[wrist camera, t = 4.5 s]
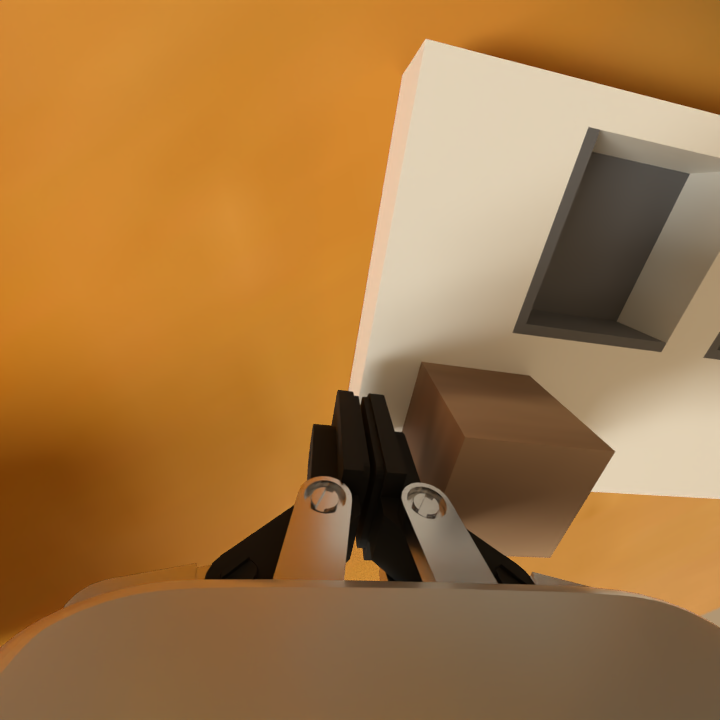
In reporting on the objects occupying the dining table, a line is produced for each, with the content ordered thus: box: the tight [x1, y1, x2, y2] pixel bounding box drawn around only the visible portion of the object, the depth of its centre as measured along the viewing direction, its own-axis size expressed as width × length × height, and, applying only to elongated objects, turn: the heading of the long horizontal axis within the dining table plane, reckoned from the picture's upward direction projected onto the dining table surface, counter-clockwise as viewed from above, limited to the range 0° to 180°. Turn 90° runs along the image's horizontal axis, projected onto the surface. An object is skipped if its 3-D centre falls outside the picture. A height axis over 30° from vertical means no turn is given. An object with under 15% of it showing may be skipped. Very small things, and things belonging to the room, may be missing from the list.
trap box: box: [349, 39, 720, 499], centre depth 14 cm, size 15×26×5 cm, turn 81°
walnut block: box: [402, 362, 615, 558], centre depth 12 cm, size 4×4×4 cm
